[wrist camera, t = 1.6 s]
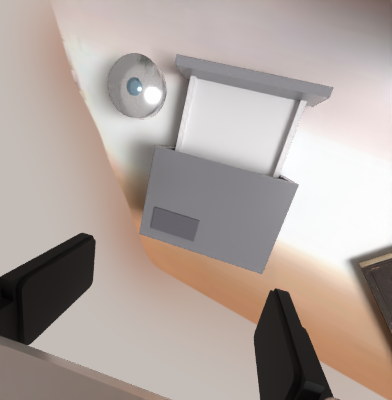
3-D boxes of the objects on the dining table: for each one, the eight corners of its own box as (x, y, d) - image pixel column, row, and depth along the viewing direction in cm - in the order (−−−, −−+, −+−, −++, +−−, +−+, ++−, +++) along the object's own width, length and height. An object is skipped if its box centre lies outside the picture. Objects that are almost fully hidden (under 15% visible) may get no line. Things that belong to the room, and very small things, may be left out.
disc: (119, 54, 25) (111, 47, 23) (171, 65, 24) (167, 59, 23) (112, 112, 27) (104, 110, 25) (160, 125, 26) (155, 123, 25)
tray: (186, 69, 27) (176, 54, 22) (316, 98, 25) (333, 87, 20) (167, 159, 30) (156, 161, 26) (280, 190, 28) (288, 198, 24)
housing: (171, 146, 30) (154, 145, 24) (284, 176, 28) (299, 185, 22) (157, 217, 34) (138, 234, 27) (256, 249, 32) (262, 275, 25)
